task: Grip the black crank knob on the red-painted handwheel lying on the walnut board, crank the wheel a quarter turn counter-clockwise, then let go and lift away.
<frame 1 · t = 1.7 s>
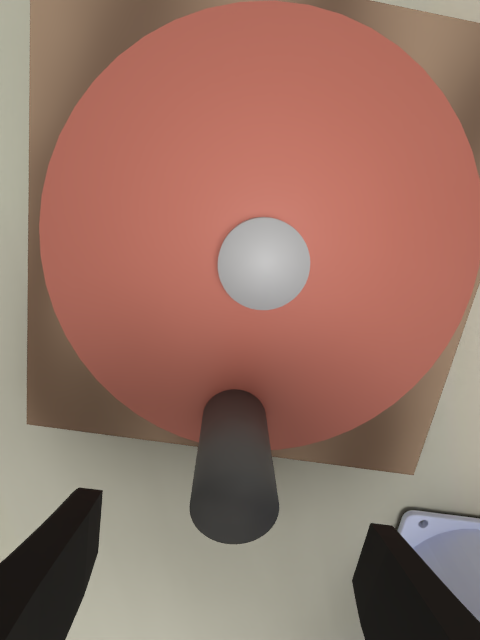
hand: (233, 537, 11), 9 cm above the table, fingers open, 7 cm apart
walnut board: (257, 252, 17), on the table
handwheel: (266, 271, 13), point 5 cm above the table, hinge at 0.0°
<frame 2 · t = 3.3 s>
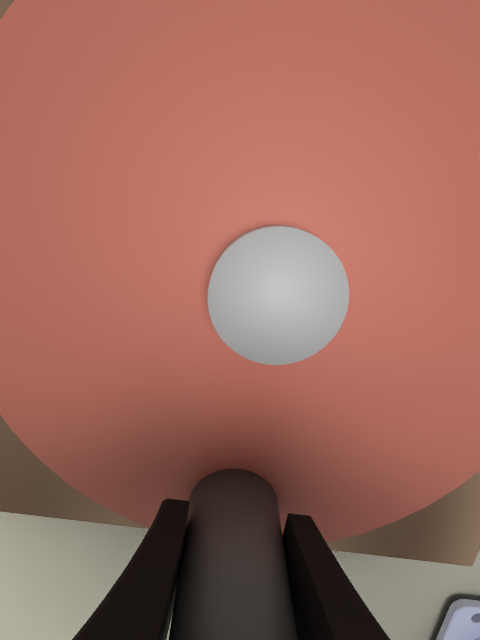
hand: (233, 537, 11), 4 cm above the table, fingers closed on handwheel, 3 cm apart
walnut board: (265, 271, 12), on the table
handwheel: (285, 314, 8), point 5 cm above the table, hinge at 0.0°, touching gripper
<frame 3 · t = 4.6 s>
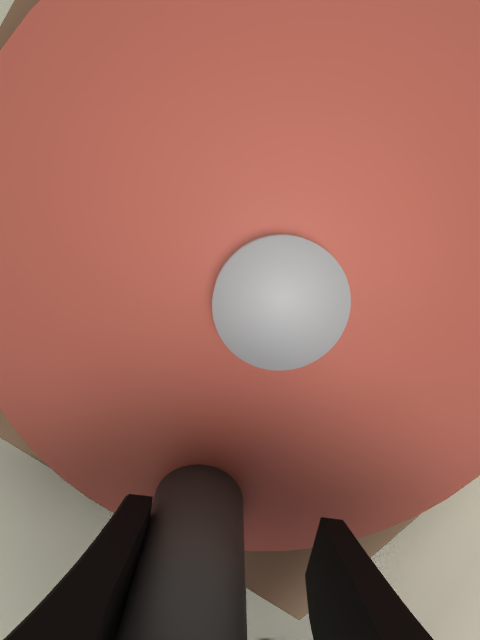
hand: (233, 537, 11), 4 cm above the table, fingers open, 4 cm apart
walnut board: (268, 277, 13), on the table
handwheel: (288, 321, 8), point 5 cm above the table, hinge at 19.9°, touching gripper
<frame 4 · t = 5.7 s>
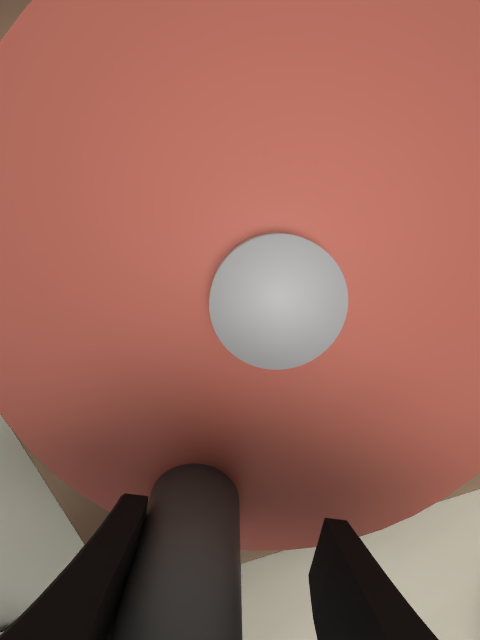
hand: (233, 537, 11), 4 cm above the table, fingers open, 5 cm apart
walnut board: (266, 276, 13), on the table
handwheel: (285, 320, 8), point 5 cm above the table, hinge at 49.4°, touching gripper
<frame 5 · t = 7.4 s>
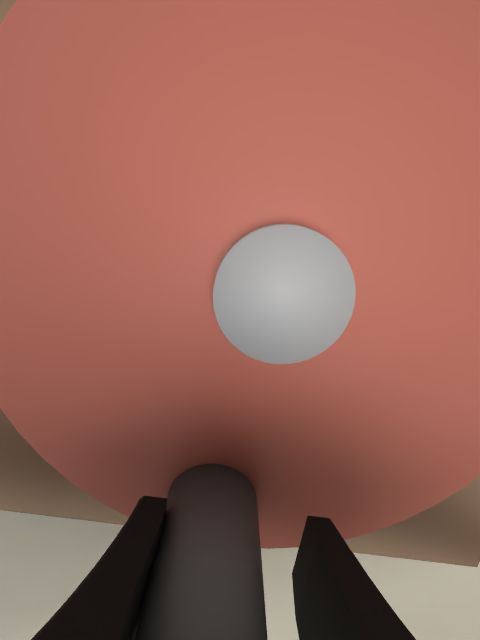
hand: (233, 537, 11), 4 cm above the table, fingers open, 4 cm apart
walnut board: (270, 270, 12), on the table
handwheel: (291, 313, 8), point 5 cm above the table, hinge at 83.4°, touching gripper
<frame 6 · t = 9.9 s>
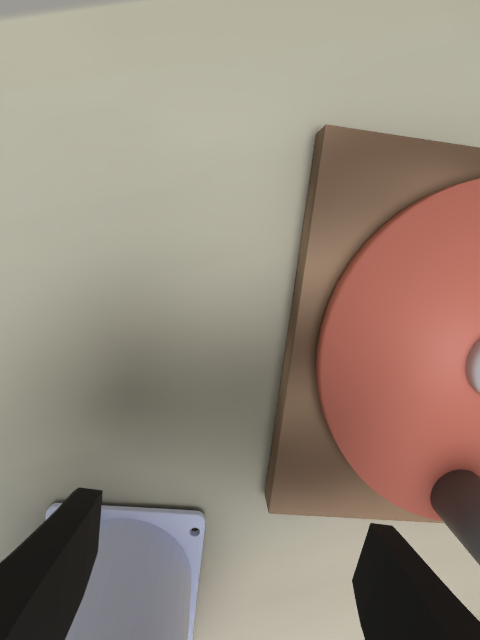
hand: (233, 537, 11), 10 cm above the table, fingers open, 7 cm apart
walnut board: (461, 347, 20), on the table
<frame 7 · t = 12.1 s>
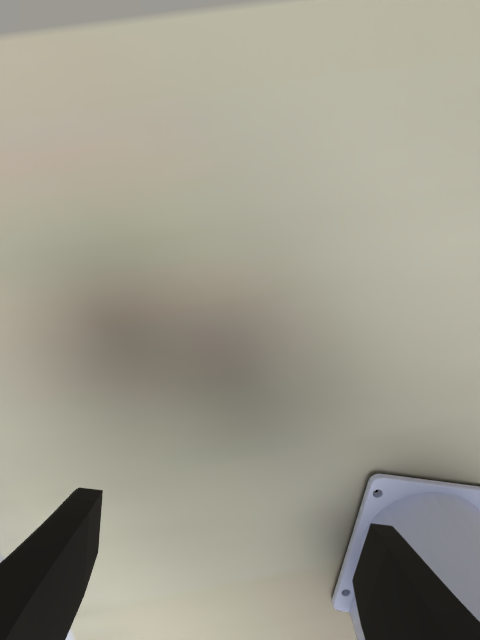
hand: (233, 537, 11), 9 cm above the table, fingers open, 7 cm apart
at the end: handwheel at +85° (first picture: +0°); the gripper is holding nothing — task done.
